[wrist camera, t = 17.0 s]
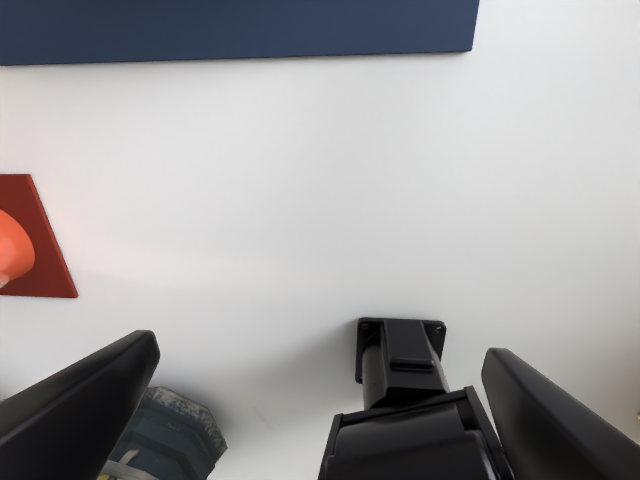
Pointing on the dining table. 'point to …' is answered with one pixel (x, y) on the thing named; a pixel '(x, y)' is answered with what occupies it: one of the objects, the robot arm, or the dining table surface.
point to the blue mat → (227, 29)
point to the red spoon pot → (14, 250)
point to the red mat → (35, 242)
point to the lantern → (166, 441)
